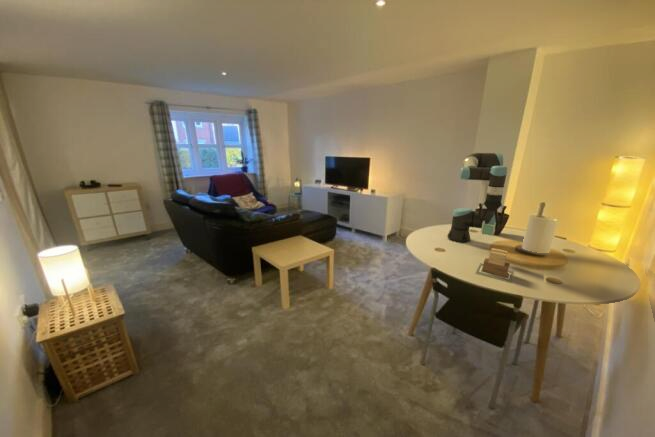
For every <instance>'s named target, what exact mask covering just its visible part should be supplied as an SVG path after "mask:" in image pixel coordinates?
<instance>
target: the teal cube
mask: <svg viewBox="0 0 655 437" xmlns="http://www.w3.org/2000/svg"><path fill="white" fill-rule="evenodd" d="M493 227H494V225H490V224H484V225H483V230H482V232H481V234H482V235H486V236H493V235H492V232H493Z"/></svg>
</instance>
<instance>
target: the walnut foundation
mask: <svg viewBox="0 0 655 437" xmlns="http://www.w3.org/2000/svg"><path fill="white" fill-rule="evenodd" d="M488 261H489V258H488V257H485V259H484V261H483V263H482V264H483V270H482V271H483V272H487V273H491V274H495V275H498V276H502V277H506V278H507V274H508V270H510V269H509V268H510V262H506V261H505V265H504V266H500V265H496V264H492V263H488Z"/></svg>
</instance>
